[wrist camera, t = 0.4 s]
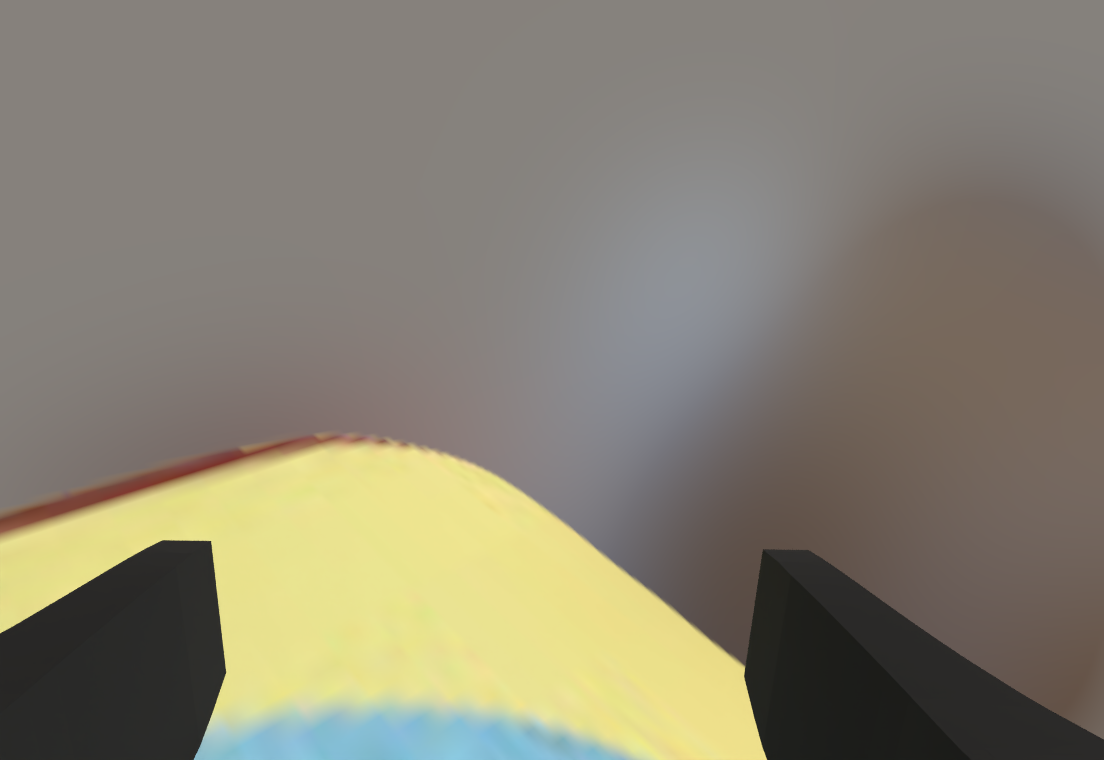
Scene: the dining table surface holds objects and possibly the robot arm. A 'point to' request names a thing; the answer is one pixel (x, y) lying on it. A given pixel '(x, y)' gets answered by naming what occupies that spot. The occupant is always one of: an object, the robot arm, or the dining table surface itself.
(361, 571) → the dining table surface
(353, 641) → the dining table surface
